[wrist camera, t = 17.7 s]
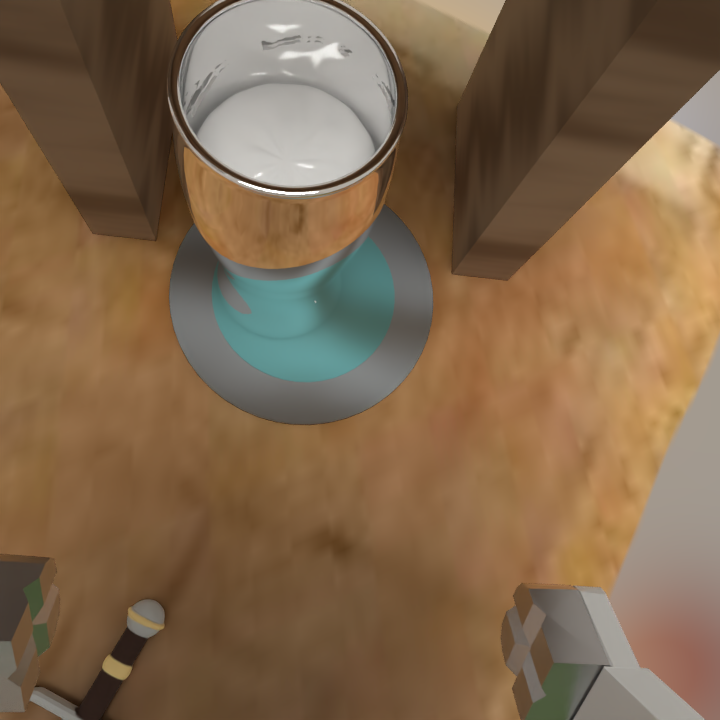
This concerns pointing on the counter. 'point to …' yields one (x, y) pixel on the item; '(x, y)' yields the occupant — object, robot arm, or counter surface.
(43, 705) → the frying pan
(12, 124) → the counter surface
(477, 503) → the counter surface
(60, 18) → the shelf bridge
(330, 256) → the beer glass
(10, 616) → the robot arm
